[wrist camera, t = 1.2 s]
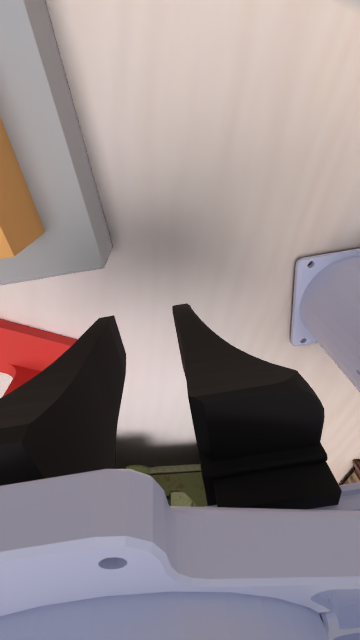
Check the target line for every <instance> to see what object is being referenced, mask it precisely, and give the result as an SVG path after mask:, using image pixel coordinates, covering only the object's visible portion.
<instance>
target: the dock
mask: <svg viewBox="0 0 360 640" xmlns="http://www.w3.org/2000/svg"><path fill="white" fill-rule="evenodd" d="M0 117H1V120H2V122H3V125H4V127H5V130H6V133H7V135H8V138H9V140H10V143H11V145H12V148H13V150H14V153H15V156H16V158H17V161H18V163H19V166H20V168H21V171H22V174H23V176H24V179H25V181H26V184H27V186H28V189H29V192H30V194H31V197H32V199H33V202H34V204H35V207H36V209H37V212H38V215H39V217H40V220H41V222H42V225H43V227H44V230H45V233H44V234H42V235H41V236H40V237H39V238H37V239H36V240H35V241H34V242H32V243H31V244H30V245H28V246H27V247H26V248H25V249H23V250H22V251H21V252H20V253H18V254H17V255H16V256H15V257H10V258H4V259H0V285H6V284H11V283H17V282H23V281H29V280H35V279H41V278H47V277H53V276H59V275H65V274H71V273H77V272H83V271H89V270H95V269H101V268H104V267H105V265H106V262H107V260H108V257H109V255H110V253H111V250H112V248H113V246H112V243H111V239H110V235H109V232H108V228H107V225H106V221H105V217H104V214H103V210H102V206H101V203H100V199H99V195H98V192H97V188H96V184H95V181H94V177H93V174H92V170H91V166H90V163H89V159H88V155H87V152H86V148H85V144H84V141H83V137H82V134H81V130H80V126H79V123H78V119H77V115H76V112H75V108H74V104H73V101H72V97H71V94H70V90H69V86H68V83H67V79H66V75H65V72H64V68H63V64H62V61H61V57H60V53H59V50H58V46H57V43H56V39H55V35H54V32H53V28H52V24H51V21H50V17H49V13H48V10H47V6H46V3H45V0H0Z"/></svg>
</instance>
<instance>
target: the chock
mask: <svg viewBox="0 0 360 640" xmlns="http://www.w3.org/2000/svg"><path fill="white" fill-rule="evenodd" d="M44 233H45V230H44V227H43V225H42V222H41V220H40V217H39V215H38V212H37V209H36V207H35V204H34V202H33V199H32V197H31V194H30V192H29V189H28V186H27V184H26V181H25V179H24V176H23V174H22V171H21V168H20V166H19V163H18V161H17V158H16V156H15V153H14V150H13V148H12V145H11V143H10V140H9V138H8V135H7V133H6V130H5V127H4V125H3V122H2V120H1V117H0V259H4V258H10V257H15V256H16V255H17V254H18V253H20V252H21V251H22V250H23V249H25V248H26V247H27V246H28V245H30V244H31V243H32V242H34V241H35V240H36V239H37V238H39V237H40V236H41V235H42V234H44Z"/></svg>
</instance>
